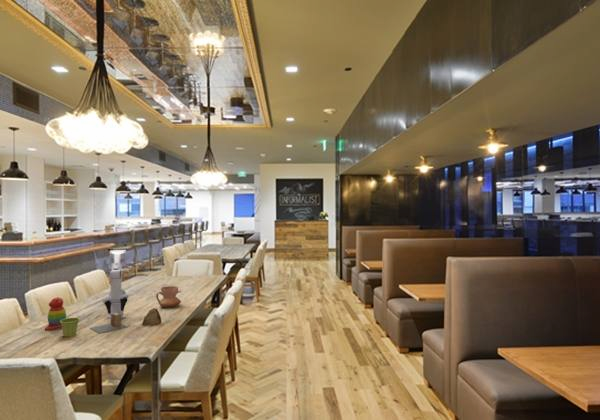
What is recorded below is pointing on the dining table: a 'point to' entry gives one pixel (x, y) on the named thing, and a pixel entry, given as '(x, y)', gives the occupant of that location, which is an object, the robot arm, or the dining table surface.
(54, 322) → the stacking bear
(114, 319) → the walnut block
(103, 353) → the dining table surface
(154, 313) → the rock
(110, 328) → the rubber mat
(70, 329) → the plant pot
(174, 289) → the ceramic jug
